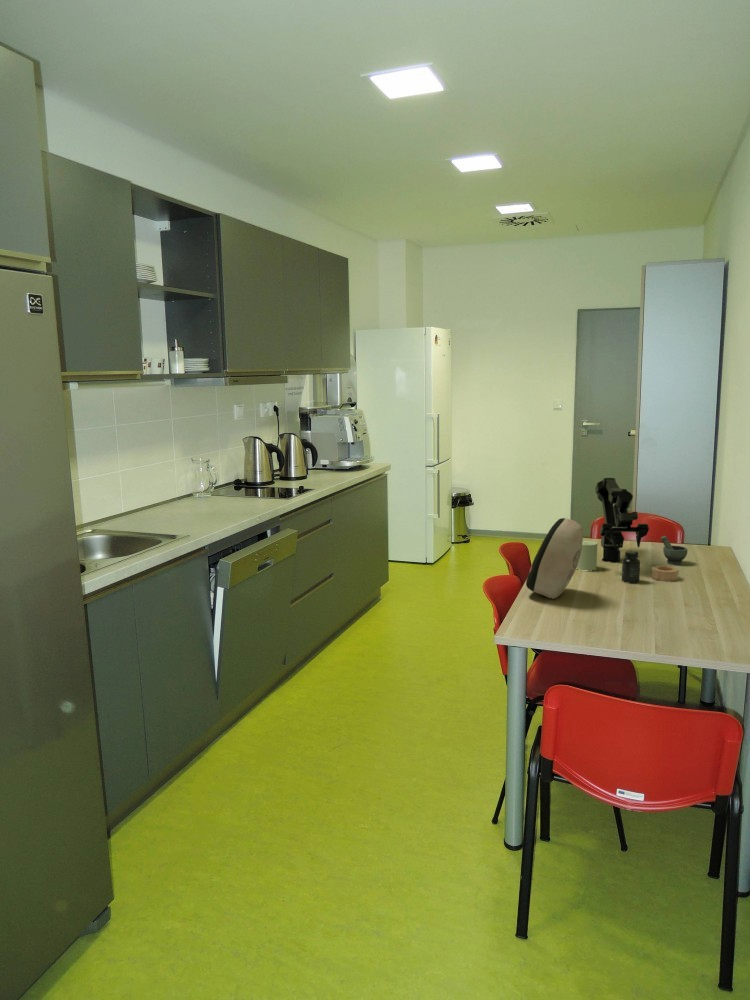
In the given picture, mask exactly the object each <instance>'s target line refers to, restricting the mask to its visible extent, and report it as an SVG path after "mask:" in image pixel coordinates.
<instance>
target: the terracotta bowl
mask: <svg viewBox="0 0 750 1000" xmlns="http://www.w3.org/2000/svg"><path fill="white" fill-rule="evenodd" d="M679 571H680V570H679V569H678V568H677V567H674V566H672V565H671V566H670V565H654V566H652V567H651V578H652V579H653V580H656V581H660V582H668V581H671V582H676V580H677V581H679Z"/></svg>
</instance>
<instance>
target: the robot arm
mask: <svg viewBox="0 0 750 1000" xmlns="http://www.w3.org/2000/svg"><path fill="white" fill-rule="evenodd" d="M594 489H595V494H596V495H597V499H598V501H600V502H601V504H602V509H603V518H604V523H602V525H601V527H600V529H599V532H600V533H599V534H600V536H601V539H600V546H601V548H603V550H602V551H603V554H602V556H603V557H602V559H601V561H602V560H603V562H609V561H610V563H617V562H619V561H620V560H621V550H620V549H623V547H624V542H625V541H624V540H625V537H624V534H623V533H635V535H636V536H635V537H636V538H635V539H636V546H637V548H640V545H641V541H642V538H644V537H646V536H647V535H648V533H649V530H650V527H649V524H648V523H638V524H637V526H632V525H633V522H634V521H637V520H638V519H639V515H638V512H637V511H632V512H629V510H628V509H629V508H630V506H631V504H632V501H633V498H634V495H633V494H632V493H631V492H629V491H628V490H627V489H626V488H620V486H619V485H618V482H616V478H614V477H604V478H603V479H602V480H600V481H599V482H597V483H596V485H595V488H594Z"/></svg>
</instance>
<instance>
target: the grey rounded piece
mask: <svg viewBox="0 0 750 1000" xmlns="http://www.w3.org/2000/svg"><path fill="white" fill-rule="evenodd" d="M583 539H584V529H583V526H582V525H581V524H579V523H578V522H577V521H576V520H573V519H571V518H566V517H563V518H559V519H557V521H555V523H554V524H552V526H551V527H550V529H549V531H548V532H547V534H546V536H545V537H544V539H543V540H542V543H541V544H540V546H539V548H538V550H537V551H536V554H535V556H534V558H533V561H532V563H531V565H530V568H529V571H528V574H527V578H526V582H525V586H526V588H527V589H529V590H530V591H532V592H533V593H537V594H539V595H542V596H544V597H546V598H548V599H551V598H552V600H555V599H556V598H558V597H559V596H560V595H562V594H563V592H564V591H565V590H566V588H567V587H568V585H569V583H570V581H571V580H572V577H573V576H574V574H575V573H576V567H577V565H578V562H579V559H580V555H581V550H582V543H583ZM554 598H555V599H554Z"/></svg>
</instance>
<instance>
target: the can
mask: <svg viewBox="0 0 750 1000" xmlns="http://www.w3.org/2000/svg"><path fill="white" fill-rule="evenodd" d="M598 545H599V544H598V542H597V541H596V540H595V541H594V540H586V539H585V540H583V543H582V550H581V555H580V559H579V562H578V565H577V567H576V568H577V569H580V570H588V571H587V572H592V571H591V570H595V571H597V570H598V567H597V566H598V565H597V564H598V563H597V562H598V561H597V560H598ZM596 569H597V570H596Z"/></svg>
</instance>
